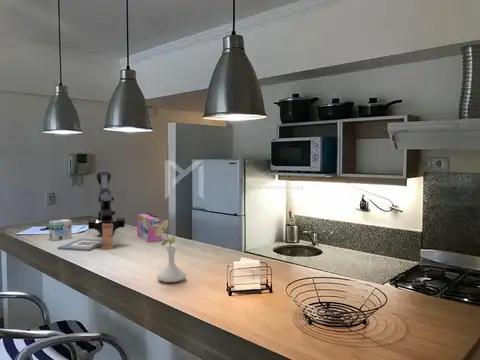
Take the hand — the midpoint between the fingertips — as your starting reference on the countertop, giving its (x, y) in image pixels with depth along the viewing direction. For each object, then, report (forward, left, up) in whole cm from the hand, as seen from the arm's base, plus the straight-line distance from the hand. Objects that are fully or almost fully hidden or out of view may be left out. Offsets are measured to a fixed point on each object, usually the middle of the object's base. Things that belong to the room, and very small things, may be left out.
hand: (107, 236), depth 211 cm
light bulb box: (-16, -38, -7) cm, 42 cm away
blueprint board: (-4, -15, -7) cm, 17 cm away
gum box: (-30, +10, -7) cm, 32 cm away
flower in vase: (+43, +51, -7) cm, 67 cm away
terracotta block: (-1, -1, -7) cm, 7 cm away
